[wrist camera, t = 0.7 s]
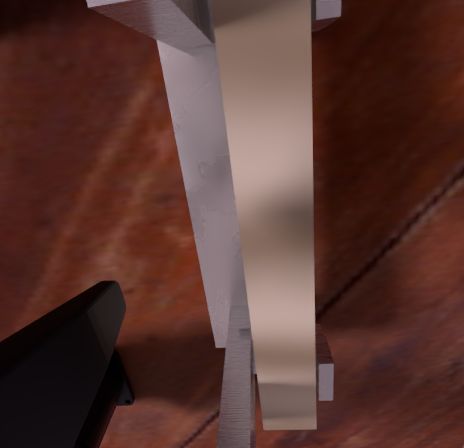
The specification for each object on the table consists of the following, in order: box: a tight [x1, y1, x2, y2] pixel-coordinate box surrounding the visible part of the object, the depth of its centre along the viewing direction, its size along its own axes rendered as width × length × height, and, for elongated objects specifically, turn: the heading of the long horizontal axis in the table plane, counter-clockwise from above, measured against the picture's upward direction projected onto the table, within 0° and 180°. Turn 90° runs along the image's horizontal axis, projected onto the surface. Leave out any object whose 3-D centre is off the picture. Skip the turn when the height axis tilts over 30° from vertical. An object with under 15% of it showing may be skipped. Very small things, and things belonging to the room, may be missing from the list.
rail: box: [210, 0, 316, 430], centre depth 14 cm, size 24×3×3 cm, turn 7°
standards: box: [86, 0, 341, 448], centre depth 14 cm, size 24×8×12 cm, turn 7°
